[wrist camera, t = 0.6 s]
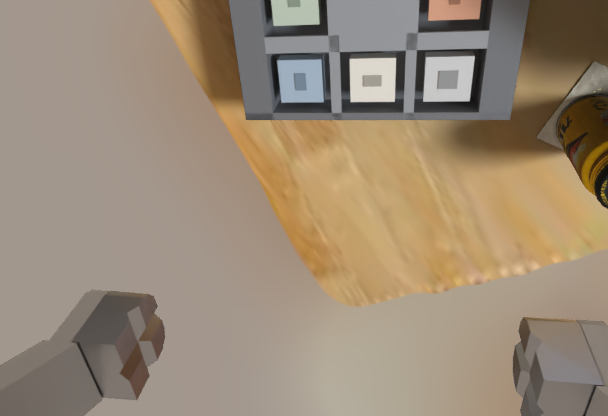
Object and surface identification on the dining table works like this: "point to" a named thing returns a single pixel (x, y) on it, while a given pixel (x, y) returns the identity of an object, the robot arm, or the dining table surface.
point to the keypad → (380, 39)
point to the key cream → (372, 77)
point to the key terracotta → (453, 9)
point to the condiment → (584, 130)
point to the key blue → (301, 78)
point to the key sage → (296, 12)
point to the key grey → (448, 76)
